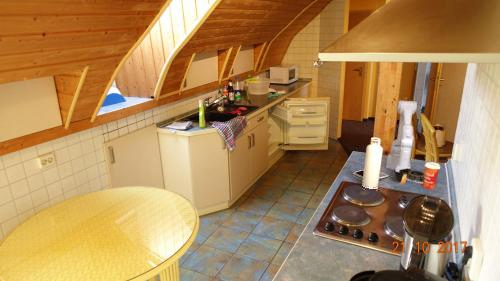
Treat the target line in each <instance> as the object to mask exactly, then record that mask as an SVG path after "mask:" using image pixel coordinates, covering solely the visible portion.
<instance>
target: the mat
mask: <svg viewBox="0 0 500 281" xmlns="http://www.w3.org/2000/svg"><path fill="white" fill-rule="evenodd" d="M406 181H410V182H414V183H418V184H421V185H423V182H416V181H412V180H409V179H407V178H406Z"/></svg>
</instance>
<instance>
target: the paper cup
mask: <svg viewBox="0 0 500 281" xmlns="http://www.w3.org/2000/svg"><path fill="white" fill-rule="evenodd" d="M440 169H441V166H440V164H439V163H437V162H434V161H433V162H432V161H428V162H427V161H426V162H425V164H424V171H423V172H424V181H423V184H422V187H423V188H424V189H426V190H434V189H435V187H436V184H437V183H436V182H437V179H438V177H439V176H438V175H439V172H440Z"/></svg>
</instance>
